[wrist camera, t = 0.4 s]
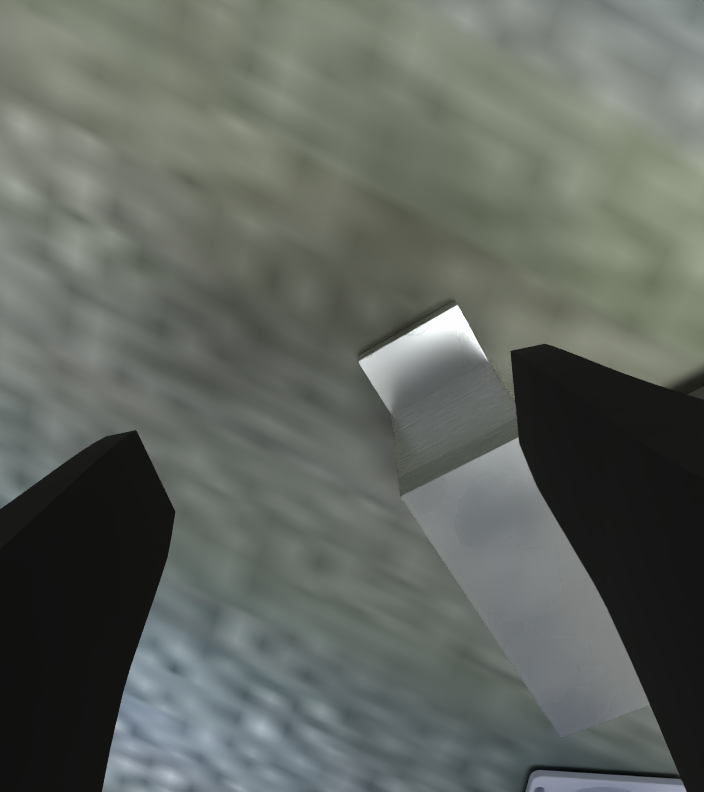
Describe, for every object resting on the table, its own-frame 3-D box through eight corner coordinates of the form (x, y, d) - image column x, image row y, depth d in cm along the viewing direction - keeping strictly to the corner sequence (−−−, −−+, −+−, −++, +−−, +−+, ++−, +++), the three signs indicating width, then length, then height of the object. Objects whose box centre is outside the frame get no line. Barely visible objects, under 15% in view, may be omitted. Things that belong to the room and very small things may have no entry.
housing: (454, 300, 20) (492, 354, 14) (620, 603, 25) (701, 740, 19) (358, 355, 21) (355, 429, 15) (536, 638, 26) (588, 779, 20)
